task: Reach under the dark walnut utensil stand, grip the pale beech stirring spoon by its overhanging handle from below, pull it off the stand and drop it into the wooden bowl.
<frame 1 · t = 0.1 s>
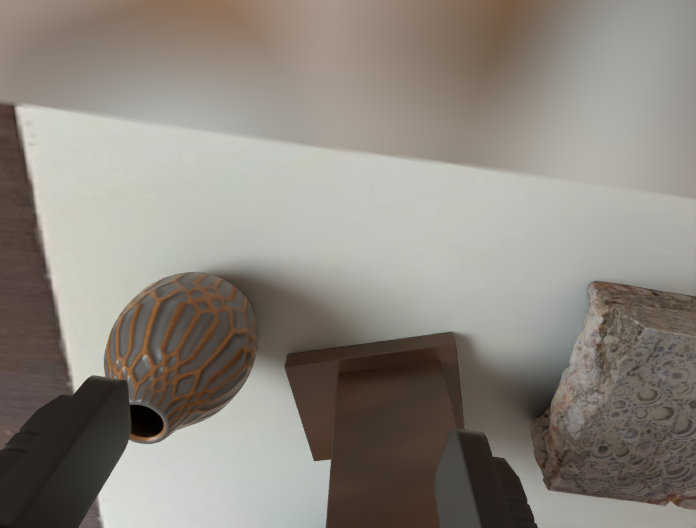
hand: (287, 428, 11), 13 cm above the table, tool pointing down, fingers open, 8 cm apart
utensil stand: (362, 395, 28), on the table
vase: (210, 306, 25), on the table
geological specimen: (658, 367, 26), on the table
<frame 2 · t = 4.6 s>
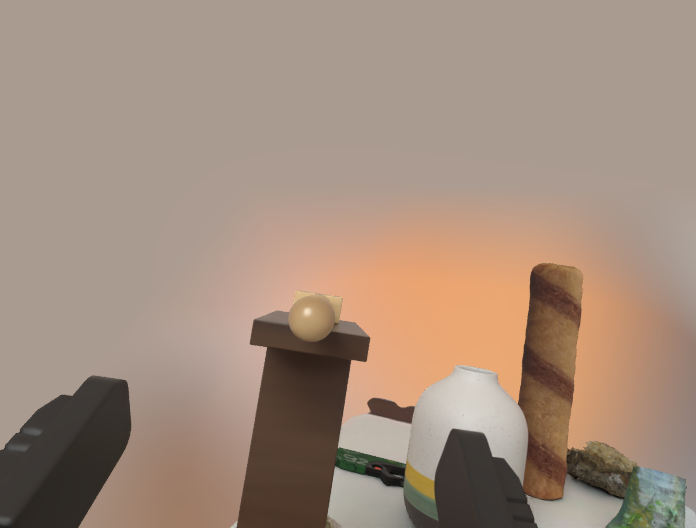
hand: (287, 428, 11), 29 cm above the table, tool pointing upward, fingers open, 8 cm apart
gun: (372, 472, 82), on the table
wafer roll: (533, 489, 86), on the table
mineral specimen: (602, 489, 92), on the table
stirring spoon: (313, 324, 29), point 30 cm above the table, touching utensil stand
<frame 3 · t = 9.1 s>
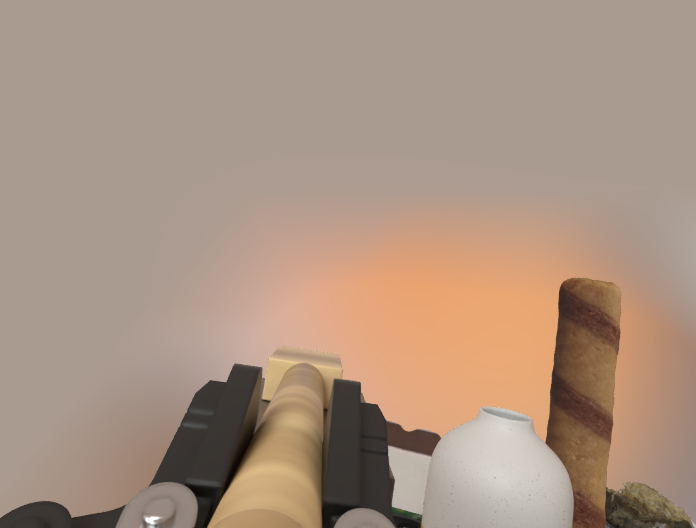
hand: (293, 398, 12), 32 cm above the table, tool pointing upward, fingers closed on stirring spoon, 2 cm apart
gun: (377, 526, 70), on the table
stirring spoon: (292, 432, 16), point 30 cm above the table, touching gripper, utensil stand
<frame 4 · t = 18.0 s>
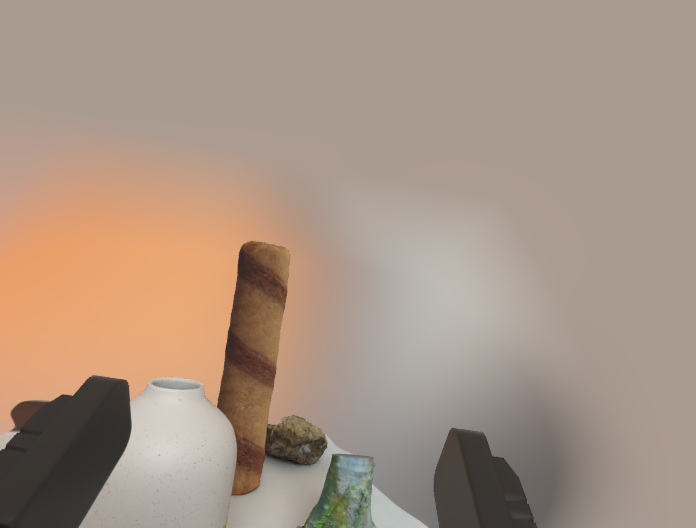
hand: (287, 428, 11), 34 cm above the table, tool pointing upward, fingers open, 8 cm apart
wafer roll: (230, 484, 80), on the table
mineral specimen: (291, 459, 96), on the table
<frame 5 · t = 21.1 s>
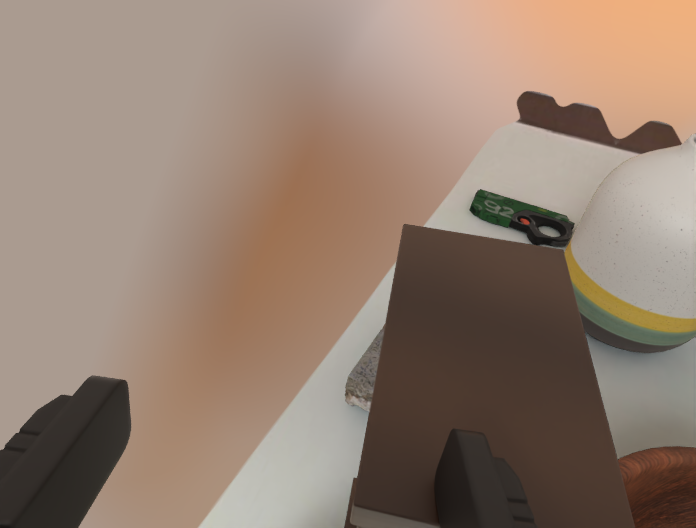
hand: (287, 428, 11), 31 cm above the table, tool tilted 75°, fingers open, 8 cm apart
gun: (517, 223, 71), on the table
vase 2: (610, 314, 57), on the table
geological specimen: (415, 382, 48), on the table
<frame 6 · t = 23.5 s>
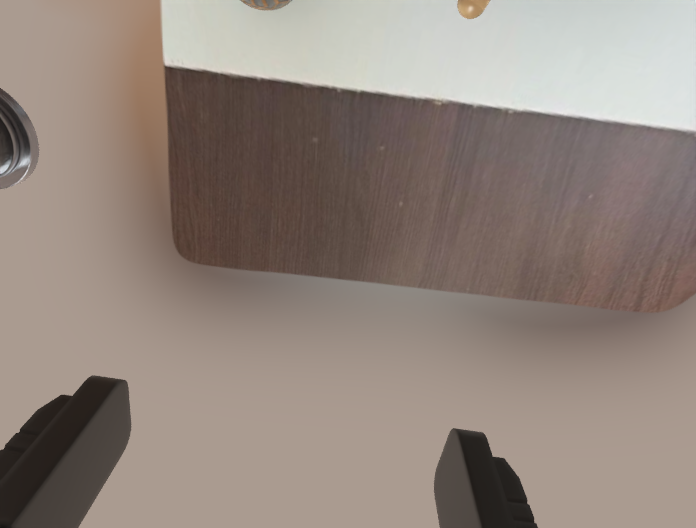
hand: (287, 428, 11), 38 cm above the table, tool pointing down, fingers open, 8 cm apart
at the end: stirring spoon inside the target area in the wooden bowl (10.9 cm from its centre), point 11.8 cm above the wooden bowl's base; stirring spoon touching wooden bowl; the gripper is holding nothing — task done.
